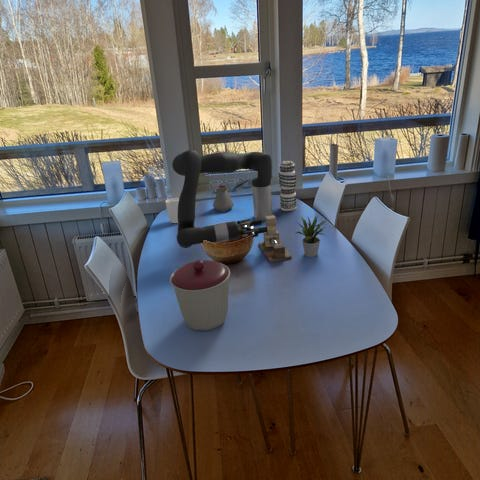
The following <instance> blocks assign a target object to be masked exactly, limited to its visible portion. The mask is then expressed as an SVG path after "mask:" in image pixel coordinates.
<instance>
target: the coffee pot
mask: <svg viewBox="0 0 480 480" xmlns="http://www.w3.org/2000/svg"><path fill="white" fill-rule="evenodd" d="M246 183H249V184H250V180H249V179H246V181H243V182H241V183H239V184H237V185H236V186H234V187H232V188H230V189H228V185H226V184H225V185H224V184H223V185H222V184H221V185H217V186H216V187H215V190H216V194H215V197H214V201H213V204H212V207H213V209H215V210H216V211H217V210H218V211H217V212H219V211H225V212H228V211H227V210H229V209H230V210H231V209H232V208H233V206H234V201H233V200H232V198H231V196H230V194H229V193H230V192H232V191H233V190H235V189H237V188H239V187H241V186H243V185H244V184H246ZM227 189H228V190H227ZM230 210H229V211H230Z"/></svg>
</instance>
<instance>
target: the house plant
mask: <svg viewBox="0 0 480 480" xmlns="http://www.w3.org/2000/svg"><path fill="white" fill-rule="evenodd" d="M318 218H319V216H318V215H314V218H313V221H312V222H311V220H310V217H309V216H307V220H308V222H307V221H306V219H305V218H304V217H303V216H300V219H301V222H302V224H303V225H302V224H301V223H299V222H297V224H298V225H299V226H300V227H301V228H302V229H301V231H295V232H294V234H299V235H303V236H304V237H303V238H302V239H301V242H302V249H303V252H304V255H305V256H306V257H308V258H314V257H317V256H318V254H319V249H320V242H321V239H320V238H319V236H318V235H320V236H326V234H325V233H323V232H324V231H325V230H324V229H326V228H327V227H322V228H321V226H322V225H325V226H326V225H327V224H326V223H327V222H328V221H329V220H330V219H324V220H322V221H321V222H320V223H318V224H317V222H318Z"/></svg>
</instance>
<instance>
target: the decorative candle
mask: <svg viewBox="0 0 480 480" xmlns="http://www.w3.org/2000/svg"><path fill="white" fill-rule="evenodd" d="M295 165H296V163H294V162H293V161H292V160H283V161H281V162H280V164H279V165H278V166H279V172H278V173H277V174H278V178H279V179H278V182H279V183H278V184H279V188H280V195H279V198H280V200H279V201H280V203H279V204H280V210H281V211H284V212H285V211H286V212H291V211H295V210H297V205H298V203H297V193H296V188H297V174H296V171H295Z"/></svg>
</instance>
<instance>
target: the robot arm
mask: <svg viewBox="0 0 480 480" xmlns="http://www.w3.org/2000/svg"><path fill="white" fill-rule="evenodd" d="M171 164H172V165H171V166H172V170H173V171H174V172H175V173H176V174H178V175H180V176H184V180H183V186H182V190H181V191H180V195H179V197H180V198H179V202H178V224H177V234H176V242H177V244H178V245H179V247H181V248H183V249H189V248H190V247H192V246H194V245H200V244H204V243H203V240H207V241H210V242H214V243H224V242H230V241H235V240H236V241H237V240H239V238H240V236H242V239H247V238H246V237H248V236H250V235H252V233H253V236H252V237H251V238H256V237H259V234H264V233H265V232H267V227H266V226H262V225H263V221H266V219H265V216H272V215H273V200H272V185H271V184H272V182H271V181H272V177H273V172H272V170H273V165H272V164H273V162H272V157H271V155H270V154H269V153H268V152H261V151H250V152H243V153H238V152H231V151H220V152H219V151H218V152H213V153H209V154H205V155H200V154H199V152H197V151H196V150H194V149H188V150H185V151H183V152H181V153H179V154H177V155H176V156H175V157H174V159H173V160H172V163H171ZM239 170H250V171H255V172H257V177H255V178H252V180H251V190H252V204H253V205H252V206H253V214H254V215H253V217H254V219H255V220H252V219H250V218H247V219H241V220H237V221H235V220H233V221H228V222H222V223H215V224H213V225H206V226H201V227H198V226H197V227H195V222H196V200H197V192H198V191H197V190H198V185H199V181H200V180H199V179H200V174H229V173H230V174H231V173H234V172H237V171H239ZM257 226H262V227H257Z"/></svg>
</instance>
